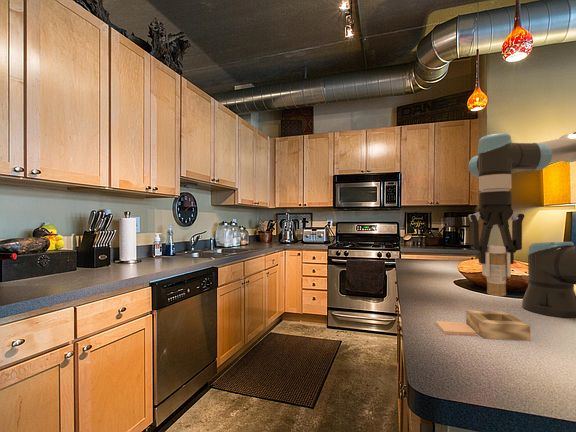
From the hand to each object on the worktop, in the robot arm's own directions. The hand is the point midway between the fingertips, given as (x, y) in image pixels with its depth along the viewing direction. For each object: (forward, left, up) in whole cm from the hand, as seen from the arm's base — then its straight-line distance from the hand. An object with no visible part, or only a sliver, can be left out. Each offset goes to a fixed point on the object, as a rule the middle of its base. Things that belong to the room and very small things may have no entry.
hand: (496, 275), depth 85 cm
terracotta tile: (+11, 0, -15) cm, 19 cm away
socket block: (0, 0, -15) cm, 15 cm away
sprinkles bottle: (0, 0, -5) cm, 5 cm away
